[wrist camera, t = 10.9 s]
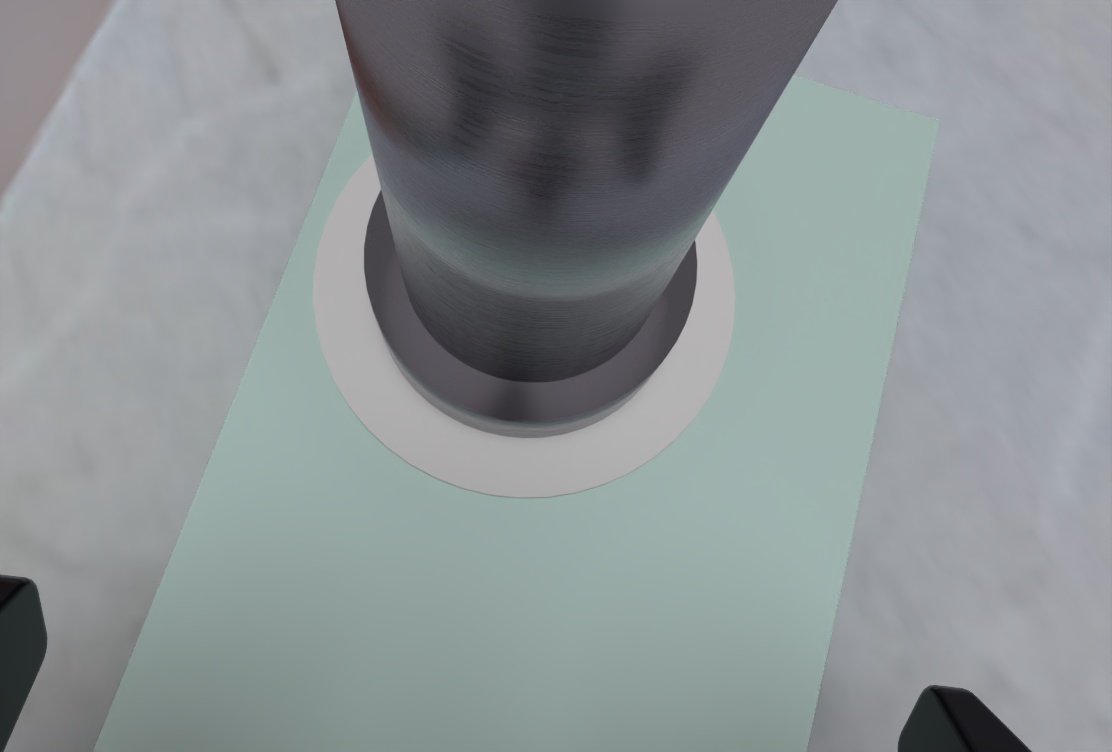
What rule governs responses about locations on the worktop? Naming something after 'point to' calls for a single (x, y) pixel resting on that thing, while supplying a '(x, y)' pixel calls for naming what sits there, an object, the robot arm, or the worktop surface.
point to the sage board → (547, 496)
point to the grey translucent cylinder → (553, 186)
